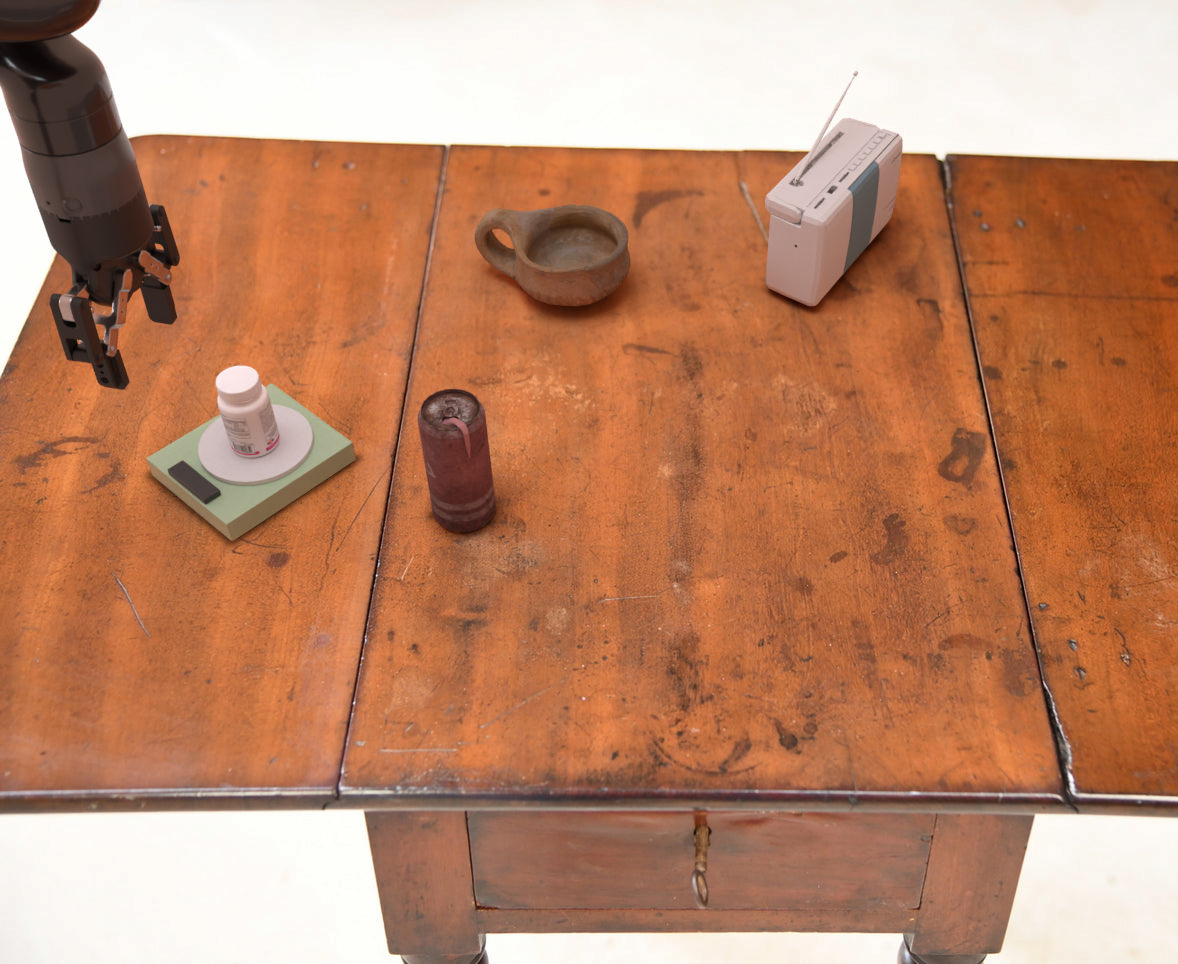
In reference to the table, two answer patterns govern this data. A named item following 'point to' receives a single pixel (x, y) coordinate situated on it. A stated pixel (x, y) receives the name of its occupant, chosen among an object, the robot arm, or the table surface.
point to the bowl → (558, 251)
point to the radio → (831, 207)
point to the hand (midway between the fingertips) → (140, 352)
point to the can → (457, 459)
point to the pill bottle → (246, 412)
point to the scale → (251, 467)
